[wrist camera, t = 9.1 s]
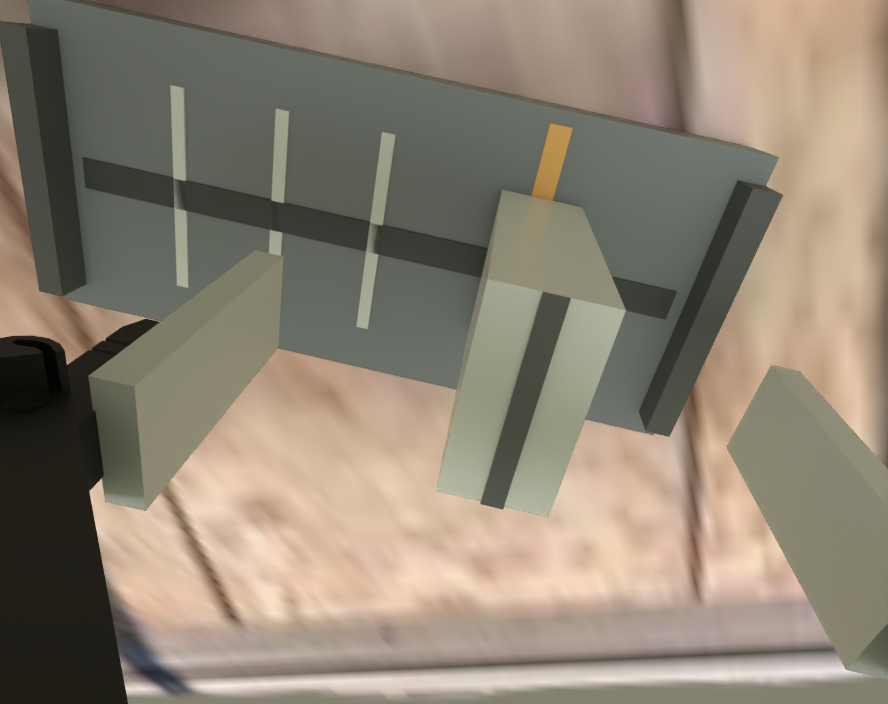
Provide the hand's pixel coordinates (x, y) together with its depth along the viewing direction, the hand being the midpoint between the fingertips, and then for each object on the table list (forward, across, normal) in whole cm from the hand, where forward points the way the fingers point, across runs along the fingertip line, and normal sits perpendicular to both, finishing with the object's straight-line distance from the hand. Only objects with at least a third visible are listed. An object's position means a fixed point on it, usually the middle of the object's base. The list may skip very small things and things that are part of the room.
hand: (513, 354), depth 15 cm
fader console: (+11, -6, 0) cm, 12 cm away
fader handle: (+8, 0, 0) cm, 8 cm away
